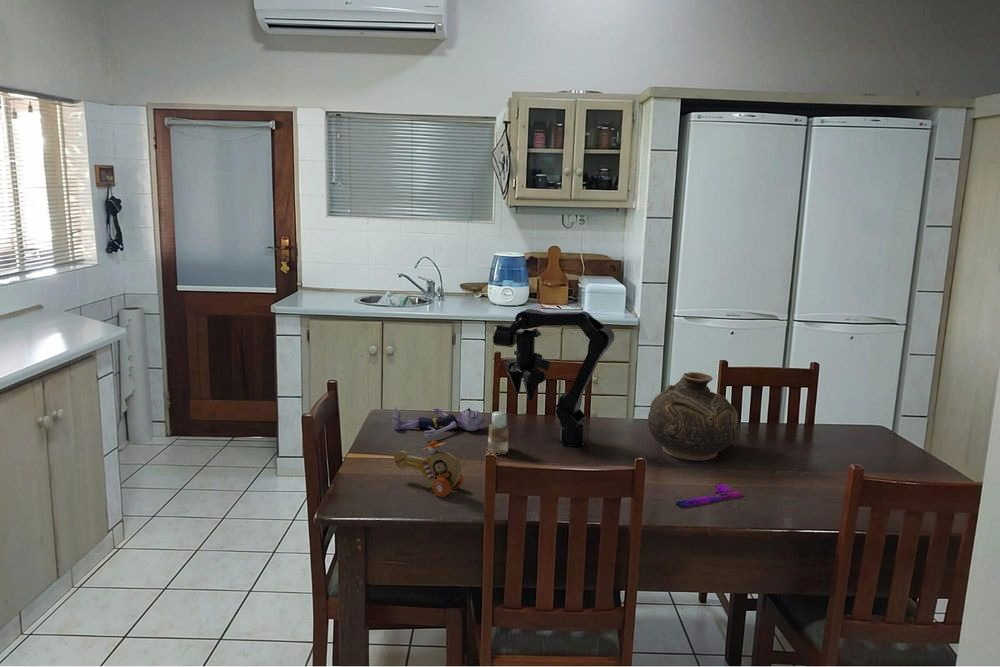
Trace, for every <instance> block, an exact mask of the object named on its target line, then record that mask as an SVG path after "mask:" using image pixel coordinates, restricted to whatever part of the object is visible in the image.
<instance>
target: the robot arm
mask: <svg viewBox="0 0 1000 667" xmlns="http://www.w3.org/2000/svg"><path fill="white" fill-rule="evenodd" d="M543 326H578V327H579V328H580V329H581V331H582V332H583V334H584V335H585V336H586V337H587V338H588V345H587V354H586V356H585V359H584V361H583V362H582V365H581V367H580V368H579V371H578V372H577V375H576V376H575V380H574V381H573V383H572V385H571V387H570V390H569V391H566V392H564V393H562V394H561V395H560V396H559V399H558V402H557V404H556V405H555V406H554V408H555V414H556V417H557V419H558V420H559V423H560V426H561V427H560V430H559V431H560V433H559V435H560V436H559V440H560V443H561V444H562V443H563V444H562V446H563V445H567V446H566V447H569V446H568V445H572V446H571V447H584V446H585V445H584V428H585V427H584V424H583V423H585V421H586V418H587V416H586V415H585V413H584V412H583V411H582V410H581V406H582V402H583V395H584V392H585V391H586V388H587V386H588V385H589V382H590V380H591V379H592V376H593V374H594V372H595V370H596V368H597V367H598V366H597V365H598V364H599V362H600V359H601V358H602V357H603V355H604V354H605V353H606V352H607V350H608V349H609V348H610V346H611V345H612V343H614V341H615V339H616V338H615V336H616V335H615V334H614V331H613V329H611V328H609V327H607V326H605V325H604V324H603V323H602V322H600V321H599V320H597V319H596V318H595V317H593V316H592V315H591V314H590V313H589V312H588V311H585V310H582V311H580V312H579V311H577V312H576V311H573V312H572V311H570V312H569V311H568V312H564V311H563V312H548V311H547V312H546V311H542V310H537V309H533V308H532V309H531V308H527V309H524V310H522V311H519V312H518V313H517V314H516V315H515V319H514V322H513V323H512V324H511V325H510V326H508V325H503V324H497V325H496V328H495V330H494V334H493V336H492V341H493V345H494V346H497V347H504V348H505V347H506V348H513V347H514V346H515V345H516V350H514V351H513V354H514V355H515V357H516V358H515V359H507V360H506V361H505V363H504V370H506V373H507V375H508V377H509V379H510V381H511V384H512V386H513V389H514V391H515V393H516V394H518V393H520V391H521V387H522V386H521V385H522V382H523V385H524V386H523V387H524V390H525V394H526V396H527V400H528V401H532V400H533V398H534V395H535V392H536V390H537V387H538V385H540V384H542V383H544V382H545V381H546V378H547V374H546V373H545V372H544V371H546V372H548V371H549V369H550V367H551V363H552V361H551V360H548V359H546V358H543V355H542V354H540V353H538V352H535V347H536V344H535V343H536V338H539V337H541V336H542V333H541V332H540V331H539V329H538V327H543ZM530 329H531V330H530ZM520 330H523V331H520ZM541 369H542V370H541ZM543 370H544V371H543ZM522 378H523V380H522Z"/></svg>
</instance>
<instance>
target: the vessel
mask: <svg viewBox="0 0 1000 667" xmlns="http://www.w3.org/2000/svg"><path fill="white" fill-rule="evenodd" d="M711 381H713V377H712V376H711V375H710V374H706V373H702V372H695V371H690V372H685V373H683V374H682V377H681V378H680V379H679V381H678V382H676V383H675V384H669V385H668V386H667V387H666V388H665V390H664V391H661V392H659V394H657V395H656V396H655V397H654V399H653V400H652V401H651V403H650V408H649V411H648V416H647V423H648V424H647V425H648V429H649V431H650V433H651V434H650V435H651V436H652V437H653V438H654V439H655V441H656V442H657V443H659V444H660V446H662V451H663V452H665V454H667V455H669V456H672V457H674V458H676V459H677V458H678V459H681V460H687V461H695V462H696V461H697V462H698V461H699V462H700V461H709V460H712V459H714V458H716V457H717V456H718V453H719V452H722V451H723V450H725V449H726V448H728V447H729V446H730V445H732V443H733V441H734V440H735V438H736V436H737V434H738V432H739V430H740V429H739V428H740V426H739V414H738V411H737V409H736V407H735V406H734V405H733V404H732V403H730V402H729V400H728V399H727V398H726V397H725V396H723V395H722V394H720V393H715V392H713V391H711V389H710V387H709V386H708V384H709V383H710V382H711Z"/></svg>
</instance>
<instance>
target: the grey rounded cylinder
mask: <svg viewBox="0 0 1000 667" xmlns="http://www.w3.org/2000/svg"><path fill="white" fill-rule="evenodd" d="M507 416H508V414H507V412H505V411H493V412H492V413H491V424H492V427H493V428H497V429H502V428H505V427H506V426H507Z"/></svg>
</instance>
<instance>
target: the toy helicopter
mask: <svg viewBox="0 0 1000 667" xmlns="http://www.w3.org/2000/svg"><path fill="white" fill-rule="evenodd" d="M446 444H447V442H441V443H438V441H436V440H432V441H430V443H429V446H426V447H424V448H422V449H421V450H422V451H424V450H427V449H428V453H429V454H430V453H431V454H430V455H428V456H426V458H425V457H421V456H420V457H419V456H416V455H415V456H414V455H411V454H410V453H409V452H408V451H406V450H400V451H397V452H396V453H395V454H394V455H393V462H394V464H395V466H396V467H397V468H398V469H401V470H404V469H406V468H410V469H413V470H416V471H419V472H421V473H422V475H423V477H424V479H425V482H424V483H425V487H426V488H427V489H431V490H432V492H433V493H434V494H435V495H436V497H437V496H438V497H439V498H445V497H446V496H448V495H449V494H450V493H451V489H454V490H456V489H459V488H460V487H462V486H463V484H464V477H463V474H462V465H461V462H460V461H459V459H458V458H457V457H456V456H455V455H453V454H452V453H450V452H447V451H439V450H441V449H443V446H444V445H446ZM433 452H434V453H433Z"/></svg>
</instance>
